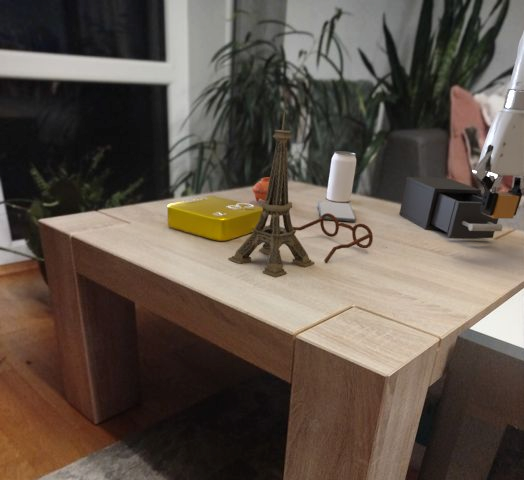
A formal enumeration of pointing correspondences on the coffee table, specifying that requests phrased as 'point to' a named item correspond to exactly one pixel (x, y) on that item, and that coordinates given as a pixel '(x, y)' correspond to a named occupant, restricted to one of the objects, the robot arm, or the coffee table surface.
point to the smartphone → (337, 211)
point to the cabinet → (428, 197)
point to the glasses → (321, 220)
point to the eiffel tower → (275, 217)
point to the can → (341, 177)
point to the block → (505, 205)
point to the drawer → (462, 216)
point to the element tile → (214, 217)
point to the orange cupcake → (261, 189)
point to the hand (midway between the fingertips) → (497, 212)
